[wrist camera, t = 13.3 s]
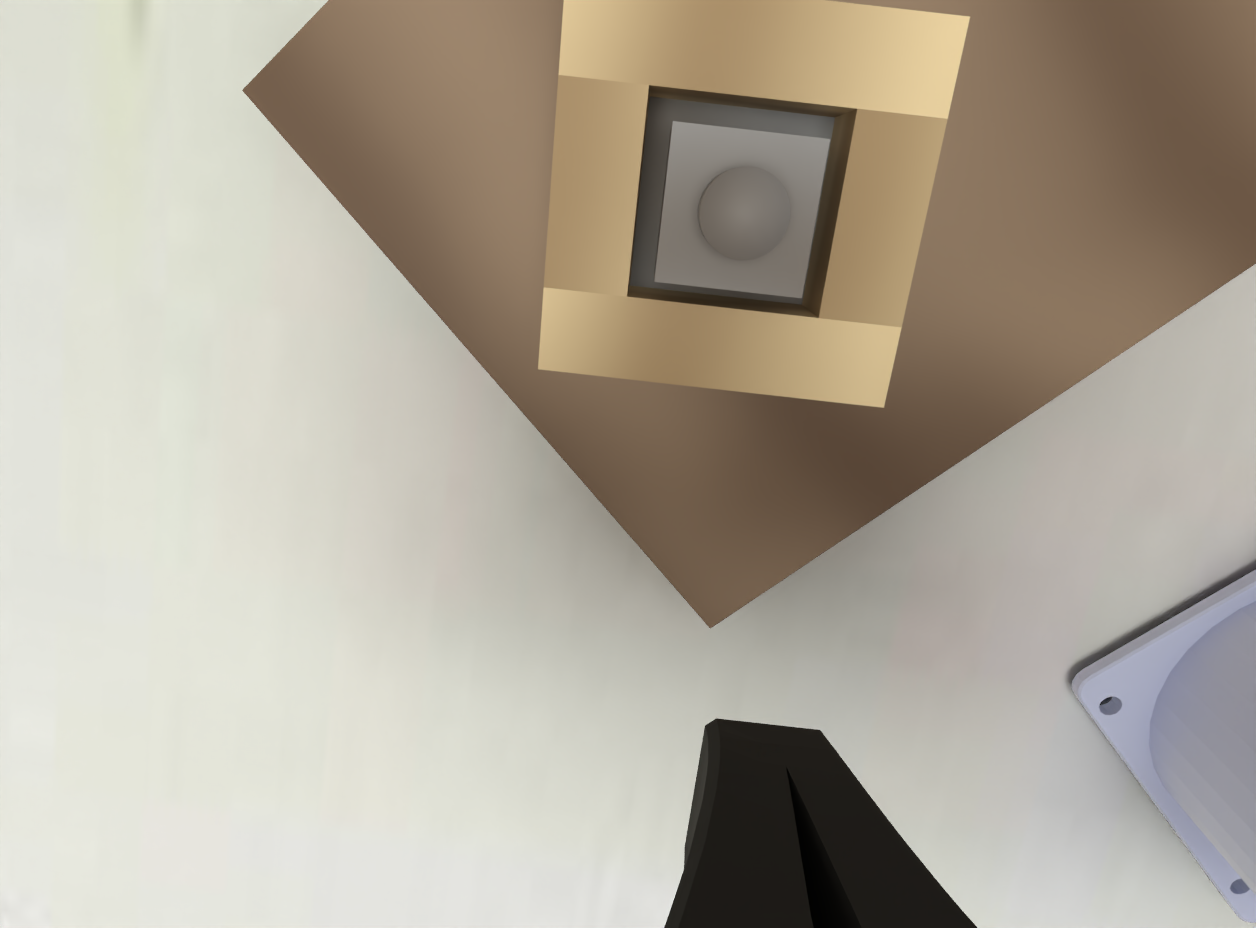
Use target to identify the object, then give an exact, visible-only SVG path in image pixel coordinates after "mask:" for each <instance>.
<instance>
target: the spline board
mask: <svg viewBox="0 0 1256 928" xmlns="http://www.w3.org/2000/svg"><path fill="white" fill-rule="evenodd" d="M828 1H837V2H846V3H854V4H863V5H872V6H881V7H890V8H899V9H907V10H916V11H925V12H934V13H943V14H951V15H960V16H969V17H970V20H969V24H968V29H967V33H966V38H965V43H964V47H963V52H962V56H961V61H960V65H959V70H958V74H957V79H956V83H955V88H954V92H953V97H952V101H951V106H950V111H949V115H948V120H947V124H946V129H945V133H944V138H943V142H942V147H941V151H940V156H939V160H938V165H937V169H936V174H935V179H934V183H933V188H932V192H931V197H930V201H929V206H928V210H927V215H926V219H925V224H924V228H923V233H922V237H921V242H920V247H919V251H918V256H917V260H916V265H915V269H914V274H913V278H912V283H911V287H910V292H909V296H908V301H907V305H906V310H905V315H904V319H903V324H902V328H901V333H900V337H899V342H898V346H897V351H896V355H895V360H894V364H893V369H892V373H891V378H890V383H889V387H888V392H887V396H886V401H885V405H884V408H881V407H872V406H863V405H854V404H845V403H836V402H827V401H819V400H810V399H801V398H792V397H783V396H774V395H765V394H756V393H747V392H738V391H729V390H720V389H711V388H702V387H693V386H684V385H675V384H666V383H657V382H648V381H639V380H630V379H621V378H612V377H604V376H595V375H586V374H577V373H568V372H559V371H550V370H541V369H538V362H539V347H540V333H541V319H542V304H543V290H544V276H545V261H546V247H547V233H548V218H549V204H550V189H551V175H552V161H553V146H554V132H555V118H556V103H557V89H558V75H559V60H560V46H561V32H562V17H563V3H564V0H329V1H328V2H327V3H326V4H325V5H324V6H323V7H322V8H321V9H320V10H319V11H318V12H317V13H316V14H315V15H314V16H313V17H312V18H311V19H310V20H309V21H308V22H307V23H306V24H305V26H304V27H303V28H302V29H301V30H300V31H299V32H298V33H297V34H296V35H295V36H294V37H293V38H292V39H291V40H290V41H289V42H288V43H287V44H286V45H285V46H284V47H283V48H282V49H281V50H280V52H279V53H278V54H277V55H276V56H275V57H274V58H273V59H272V60H271V61H270V62H269V63H268V64H267V65H266V66H265V67H264V68H263V69H262V70H261V71H260V72H259V73H258V74H257V75H256V77H255V78H254V79H253V80H252V81H251V82H250V83H249V84H248V85H247V86H246V87H245V88H244V89H243V92H244V93H245V94H246V95H247V96H248V97H249V99H250V100H251V101H252V102H253V103H254V104H255V105H256V107H257V108H258V109H259V110H260V111H261V112H262V113H263V115H264V116H265V117H266V118H267V119H268V120H269V122H270V123H271V124H272V125H273V126H274V127H275V128H276V130H277V131H278V132H279V133H280V134H281V135H282V136H283V138H284V139H285V140H286V141H287V142H288V143H289V145H290V146H291V147H292V148H293V149H294V150H295V151H296V153H297V154H298V155H299V156H300V157H301V158H302V159H303V161H304V162H305V163H306V164H307V165H308V166H309V168H310V169H311V170H312V171H313V172H314V173H315V174H316V176H317V177H318V178H319V179H320V180H321V181H322V182H323V184H324V185H325V186H326V187H327V188H328V189H329V191H330V192H331V193H332V194H333V195H334V196H335V197H336V199H337V200H338V201H339V202H340V203H341V204H342V205H343V207H344V208H345V209H346V210H347V211H348V212H349V214H350V215H351V216H352V217H353V218H354V219H355V220H356V222H357V223H358V224H359V225H360V226H361V227H362V228H363V230H364V231H365V232H366V233H367V234H368V235H369V237H370V238H371V239H372V240H373V241H374V242H375V243H376V245H377V246H378V247H379V248H380V249H381V250H382V251H383V253H384V254H385V255H386V256H387V257H388V258H389V260H390V261H391V262H392V263H393V264H394V265H395V266H396V268H397V269H398V270H399V271H400V272H401V273H402V274H403V276H404V277H405V278H406V279H407V280H408V281H409V283H410V284H411V285H412V286H413V287H414V288H415V289H416V291H417V292H418V293H419V294H420V295H421V296H422V297H423V299H424V300H425V301H426V302H427V303H428V304H429V306H430V307H431V308H432V309H433V310H434V311H435V312H436V314H437V315H438V316H439V317H440V318H441V319H442V320H443V322H444V323H445V324H446V325H447V326H448V327H449V329H450V330H451V331H452V332H453V333H454V334H455V335H456V337H457V338H458V339H459V340H460V341H461V342H462V343H463V345H464V346H465V347H466V348H467V349H468V350H469V352H470V353H471V354H472V355H473V356H474V357H475V358H476V360H477V361H478V362H479V363H480V364H481V365H482V366H483V368H484V369H485V370H486V371H487V372H488V373H489V375H490V376H491V377H492V378H493V379H494V380H495V381H496V383H497V384H498V385H499V386H500V387H501V388H502V389H503V391H504V392H505V393H506V394H507V395H508V396H509V398H510V399H511V400H512V401H513V402H514V403H515V404H516V406H517V407H518V408H519V409H520V410H521V411H522V412H523V414H524V415H525V416H526V417H527V418H528V419H529V421H530V422H531V423H532V424H533V425H534V426H535V427H536V429H537V430H538V431H539V432H540V433H541V434H542V435H543V437H544V438H545V439H546V440H547V441H548V442H549V444H550V445H551V446H552V447H553V448H554V449H555V450H556V452H557V453H558V454H559V455H560V456H561V457H562V458H563V460H564V461H565V462H566V463H567V464H568V465H569V467H570V468H571V469H572V470H573V471H574V472H575V473H576V475H577V476H578V477H579V478H580V479H581V480H582V481H583V483H584V484H585V485H586V486H587V487H588V488H589V490H590V491H591V492H592V493H593V494H594V495H595V496H596V498H597V499H598V500H599V501H600V502H601V503H602V504H603V506H604V507H605V508H606V509H607V510H608V511H609V513H610V514H611V515H612V516H613V517H614V518H615V519H616V521H617V522H618V523H619V524H620V525H621V526H622V527H623V529H624V530H625V531H626V532H627V533H628V534H629V536H630V537H631V538H632V539H633V540H634V541H635V542H636V544H637V545H638V546H639V547H640V548H641V549H642V550H643V552H644V553H645V554H646V555H647V556H648V557H649V559H650V560H651V561H652V562H653V563H654V564H655V565H656V567H657V568H658V569H659V570H660V571H661V572H662V573H663V575H664V576H665V577H666V578H667V579H668V580H669V582H670V583H671V584H672V585H673V586H674V587H675V588H676V590H677V591H678V592H679V593H680V594H681V595H682V596H683V598H684V599H685V600H686V601H687V602H688V603H689V605H690V606H691V607H692V608H693V609H694V610H695V611H696V613H697V614H698V615H699V616H700V617H701V618H702V619H703V621H704V622H705V623H706V624H707V625H708V626H709V628H712V627H713V626H715V625H716V624H718V623H719V622H721V621H722V620H724V619H725V618H727V617H728V616H730V615H731V614H733V613H734V612H736V611H737V610H739V609H740V608H741V607H743V606H744V605H746V604H747V603H749V602H750V601H752V600H753V599H755V598H756V597H758V596H759V595H761V594H762V593H764V592H765V591H767V590H768V589H770V588H771V587H773V586H774V585H776V584H777V583H779V582H780V581H782V580H783V579H785V578H786V577H788V576H789V575H791V574H792V573H794V572H795V571H797V570H798V569H800V568H801V567H803V566H804V565H806V564H807V563H809V562H810V561H812V560H813V559H815V558H816V557H818V556H819V555H821V554H822V553H824V552H825V551H827V550H828V549H830V548H831V547H833V546H834V545H836V544H837V543H839V542H840V541H842V540H843V539H845V538H846V537H848V536H849V535H851V534H852V533H854V532H855V531H857V530H858V529H860V528H861V527H863V526H864V525H866V524H867V523H869V522H870V521H872V520H873V519H875V518H876V517H878V516H879V515H881V514H882V513H884V512H885V511H887V510H888V509H890V508H891V507H893V506H894V505H895V504H897V503H898V502H900V501H901V500H903V499H904V498H906V497H907V496H909V495H910V494H912V493H913V492H915V491H916V490H918V489H919V488H921V487H922V486H924V485H925V484H927V483H928V482H930V481H931V480H933V479H934V478H936V477H937V476H939V475H940V474H942V473H943V472H945V471H946V470H948V469H949V468H951V467H952V466H954V465H955V464H957V463H958V462H960V461H961V460H963V459H964V458H966V457H967V456H969V455H970V454H972V453H973V452H975V451H976V450H978V449H979V448H981V447H982V446H984V445H985V444H987V443H988V442H990V441H991V440H993V439H994V438H996V437H997V436H999V435H1000V434H1002V433H1003V432H1005V431H1006V430H1008V429H1009V428H1011V427H1012V426H1014V425H1015V424H1017V423H1018V422H1020V421H1021V420H1023V419H1024V418H1026V417H1027V416H1029V415H1030V414H1032V413H1033V412H1035V411H1036V410H1038V409H1039V408H1041V407H1042V406H1044V405H1045V404H1047V403H1048V402H1049V401H1051V400H1052V399H1054V398H1055V397H1057V396H1058V395H1060V394H1061V393H1063V392H1064V391H1066V390H1067V389H1069V388H1070V387H1072V386H1073V385H1075V384H1076V383H1078V382H1079V381H1081V380H1082V379H1084V378H1085V377H1087V376H1088V375H1090V374H1091V373H1093V372H1094V371H1096V370H1097V369H1099V368H1100V367H1102V366H1103V365H1105V364H1106V363H1108V362H1109V361H1111V360H1112V359H1114V358H1115V357H1117V356H1118V355H1120V354H1121V353H1123V352H1124V351H1126V350H1127V349H1129V348H1130V347H1132V346H1133V345H1135V344H1136V343H1138V342H1139V341H1141V340H1142V339H1144V338H1145V337H1147V336H1148V335H1150V334H1151V333H1153V332H1154V331H1156V330H1157V329H1159V328H1160V327H1162V326H1163V325H1165V324H1166V323H1168V322H1169V321H1171V320H1172V319H1174V318H1175V317H1177V316H1178V315H1180V314H1181V313H1183V312H1184V311H1186V310H1187V309H1189V308H1190V307H1192V306H1193V305H1195V304H1196V303H1198V302H1199V301H1201V300H1202V299H1203V298H1205V297H1206V296H1208V295H1209V294H1211V293H1212V292H1214V291H1215V290H1217V289H1218V288H1220V287H1221V286H1223V285H1224V284H1226V283H1227V282H1229V281H1230V280H1232V279H1233V278H1235V277H1236V276H1238V275H1239V274H1241V273H1242V272H1244V271H1245V270H1247V269H1248V268H1250V267H1251V266H1253V265H1254V264H1256V0H828ZM834 121H835V117H827V116H818V115H809V114H800V113H791V112H783V111H774V110H765V109H756V108H747V107H738V106H729V105H721V104H712V103H703V102H694V101H685V100H676V99H667V98H659V97H650V99H649V108H648V118H647V127H646V137H645V146H644V156H643V165H642V175H641V184H640V194H639V203H638V213H637V222H636V232H635V241H634V251H633V260H632V270H631V279H630V286H639V287H648V288H657V289H666V290H675V291H684V292H693V293H701V294H710V295H719V296H728V297H737V298H746V299H755V300H764V301H773V302H782V303H791V304H800V305H802V301H803V296H804V290H805V284H806V279H807V273H808V267H809V262H810V256H811V250H812V245H813V239H814V234H815V228H816V222H817V217H818V211H819V205H820V200H821V194H822V188H823V183H824V177H825V171H826V166H827V160H828V154H829V149H830V143H831V138H832V132H833V126H834Z"/></svg>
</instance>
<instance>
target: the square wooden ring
mask: <svg viewBox="0 0 1256 928" xmlns="http://www.w3.org/2000/svg"><path fill="white" fill-rule="evenodd" d="M969 20H970V17H969V16H960V15H951V14H943V13H934V12H925V11H916V10H907V9H899V8H890V7H881V6H872V5H863V4H854V3H846V2H837V1H828V0H564V3H563V17H562V32H561V46H560V60H559V75H558V89H557V103H556V118H555V132H554V146H553V161H552V175H551V189H550V204H549V218H548V233H547V247H546V261H545V276H544V290H543V304H542V319H541V333H540V347H539V362H538V369H541V370H550V371H559V372H568V373H577V374H586V375H595V376H604V377H612V378H621V379H630V380H639V381H648V382H657V383H666V384H675V385H684V386H693V387H702V388H711V389H720V390H729V391H738V392H747V393H756V394H765V395H774V396H783V397H792V398H801V399H810V400H819V401H827V402H836V403H845V404H854V405H863V406H872V407H881V408H884V405H885V401H886V396H887V392H888V387H889V383H890V378H891V373H892V369H893V364H894V360H895V355H896V351H897V346H898V342H899V337H900V333H901V328H902V324H903V319H904V315H905V310H906V305H907V301H908V296H909V292H910V287H911V283H912V278H913V274H914V269H915V265H916V260H917V256H918V251H919V247H920V242H921V237H922V233H923V228H924V224H925V219H926V215H927V210H928V206H929V201H930V197H931V192H932V188H933V183H934V179H935V174H936V169H937V165H938V160H939V156H940V151H941V147H942V142H943V138H944V133H945V129H946V124H947V120H948V115H949V111H950V106H951V101H952V97H953V92H954V88H955V83H956V79H957V74H958V70H959V65H960V61H961V56H962V52H963V47H964V43H965V38H966V33H967V29H968V24H969ZM650 97H659V98H667V99H676V100H685V101H694V102H703V103H712V104H721V105H729V106H738V107H747V108H756V109H765V110H774V111H783V112H791V113H800V114H809V115H818V116H827V117H835V121H834V126H833V132H832V138H831V143H830V149H829V154H828V160H827V166H826V171H825V177H824V183H823V188H822V194H821V200H820V205H819V211H818V217H817V222H816V228H815V234H814V239H813V245H812V250H811V256H810V262H809V267H808V273H807V279H806V284H805V290H804V296H803V301H802V305H800V304H791V303H782V302H773V301H764V300H755V299H746V298H737V297H728V296H719V295H710V294H701V293H693V292H684V291H675V290H666V289H657V288H648V287H639V286H630V279H631V270H632V260H633V251H634V241H635V232H636V222H637V213H638V203H639V194H640V184H641V175H642V165H643V156H644V146H645V137H646V127H647V118H648V108H649V99H650Z"/></svg>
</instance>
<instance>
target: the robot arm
mask: <svg viewBox="0 0 1256 928" xmlns="http://www.w3.org/2000/svg"><path fill="white" fill-rule="evenodd" d="M1072 690H1073V692H1074V694H1075V696H1076V697H1077V699H1078V700H1079V701H1080V703H1081V704H1082V705H1083V707H1084V708H1085V709H1086V711H1087V712H1088V714H1089V715H1090V716H1091V718H1092V719H1093V720H1094V722H1095V723H1096V724H1097V726H1098V727H1099V729H1100V730H1101V731H1102V733H1103V734H1104V735H1105V737H1106V738H1107V739H1108V741H1109V742H1110V744H1111V745H1112V746H1113V748H1114V749H1115V750H1116V752H1117V753H1118V754H1119V756H1120V757H1121V759H1122V760H1123V761H1124V763H1125V764H1126V765H1127V767H1128V768H1129V769H1130V771H1131V772H1132V774H1133V775H1134V776H1135V778H1136V779H1137V780H1138V782H1139V783H1140V784H1141V786H1142V787H1143V789H1144V790H1145V791H1146V793H1147V794H1148V795H1149V797H1150V798H1151V799H1152V801H1153V802H1154V804H1155V805H1156V806H1157V808H1158V809H1159V810H1160V812H1161V813H1162V814H1163V816H1164V817H1165V818H1166V820H1167V821H1168V823H1169V824H1170V825H1171V827H1172V828H1173V829H1174V831H1175V832H1176V833H1177V835H1178V836H1179V838H1180V839H1181V840H1182V842H1183V843H1184V844H1185V846H1186V847H1187V848H1188V850H1189V851H1190V853H1191V854H1192V855H1193V857H1194V858H1195V859H1196V861H1197V862H1198V863H1199V865H1200V866H1201V868H1202V869H1203V870H1204V872H1205V873H1206V874H1207V876H1208V877H1209V878H1210V880H1211V881H1212V883H1213V884H1214V885H1215V887H1216V888H1217V889H1218V891H1219V892H1220V893H1221V895H1222V896H1223V898H1224V899H1225V900H1226V902H1227V903H1228V904H1229V906H1230V907H1231V908H1232V910H1233V911H1234V912H1235V913H1236V915H1237V916H1238V917H1239V918H1240V919H1242V920H1243V921H1246V922H1251V923H1254V922H1256V570H1254V571H1252V572H1250V573H1249V574H1247V575H1245V576H1243V577H1242V578H1240V579H1238V580H1236V581H1235V582H1233V583H1231V584H1229V585H1228V586H1226V587H1224V588H1223V589H1221V590H1219V591H1217V592H1216V593H1214V594H1212V595H1210V596H1209V597H1207V598H1205V599H1203V600H1202V601H1200V602H1198V603H1197V604H1195V605H1193V606H1191V607H1190V608H1188V609H1186V610H1184V611H1183V612H1181V613H1179V614H1177V615H1176V616H1174V617H1172V618H1170V619H1169V620H1167V621H1165V622H1164V623H1162V624H1160V625H1158V626H1157V627H1155V628H1153V629H1151V630H1150V631H1148V632H1146V633H1144V634H1143V635H1141V636H1139V637H1138V638H1136V639H1134V640H1132V641H1131V642H1129V643H1127V644H1125V645H1124V646H1122V647H1120V648H1118V649H1117V650H1115V651H1113V652H1111V653H1110V654H1108V655H1106V656H1105V657H1103V658H1101V659H1099V660H1098V661H1096V662H1094V663H1092V664H1091V665H1089V666H1087V667H1085V668H1084V669H1082V670H1081V671H1080V672H1078V673H1077V674H1076V676H1075V677H1074V679H1073V681H1072ZM1108 697H1112V699H1111V700H1110V701H1109V702H1108V703H1106V704H1103V705H1100V703H1101V702H1102V701H1103V700H1104V699H1105V698H1108ZM664 928H977V927H976V926H975V925H974V923H973V922H972V921H971V920H970V919H969V918H968V917H967V916H966V915H965V913H964V912H963V911H962V910H961V909H960V908H959V906H958V905H957V904H956V903H955V902H954V901H953V899H952V898H951V897H950V896H949V895H948V893H947V892H946V891H945V890H944V889H943V888H942V886H941V885H940V884H939V883H938V881H937V880H936V879H935V878H934V877H933V875H932V874H931V873H930V872H929V870H928V869H927V868H926V867H925V866H924V864H923V863H922V862H921V861H920V859H919V858H918V857H917V856H916V854H915V853H914V852H913V851H912V850H911V848H910V847H909V846H908V845H907V843H906V842H905V841H904V840H903V838H902V837H901V836H900V834H899V833H898V832H897V831H896V829H895V828H894V827H893V826H892V824H891V823H890V822H889V820H888V819H887V818H886V816H885V815H884V814H883V813H882V811H881V810H880V809H879V807H878V806H877V805H876V803H875V802H874V801H873V799H872V798H871V797H870V796H869V794H868V793H867V792H866V790H865V789H864V788H863V786H862V785H861V784H860V782H859V781H858V780H857V778H856V777H855V776H854V774H853V773H852V772H851V770H850V769H849V768H848V766H847V765H846V764H845V762H844V761H843V760H842V758H841V757H840V756H839V754H838V753H837V752H836V750H835V749H834V748H833V746H832V745H831V744H830V742H829V741H828V740H827V739H826V737H825V736H824V735H823V733H822V732H821V731H820V730H814V729H805V728H796V727H787V726H778V725H769V724H760V723H751V722H742V721H733V720H724V719H715V720H713V721H712V722H710V723H709V724H707V725H706V726H705V730H704V736H703V742H702V748H701V754H700V760H699V765H698V771H697V777H696V783H695V789H694V795H693V801H692V807H691V813H690V819H689V825H688V831H687V837H686V843H685V861H684V871H683V874H682V877H681V880H680V883H679V886H678V889H677V892H676V895H675V898H674V901H673V904H672V907H671V910H670V913H669V916H668V919H667V922H666V924H665V927H664Z"/></svg>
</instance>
